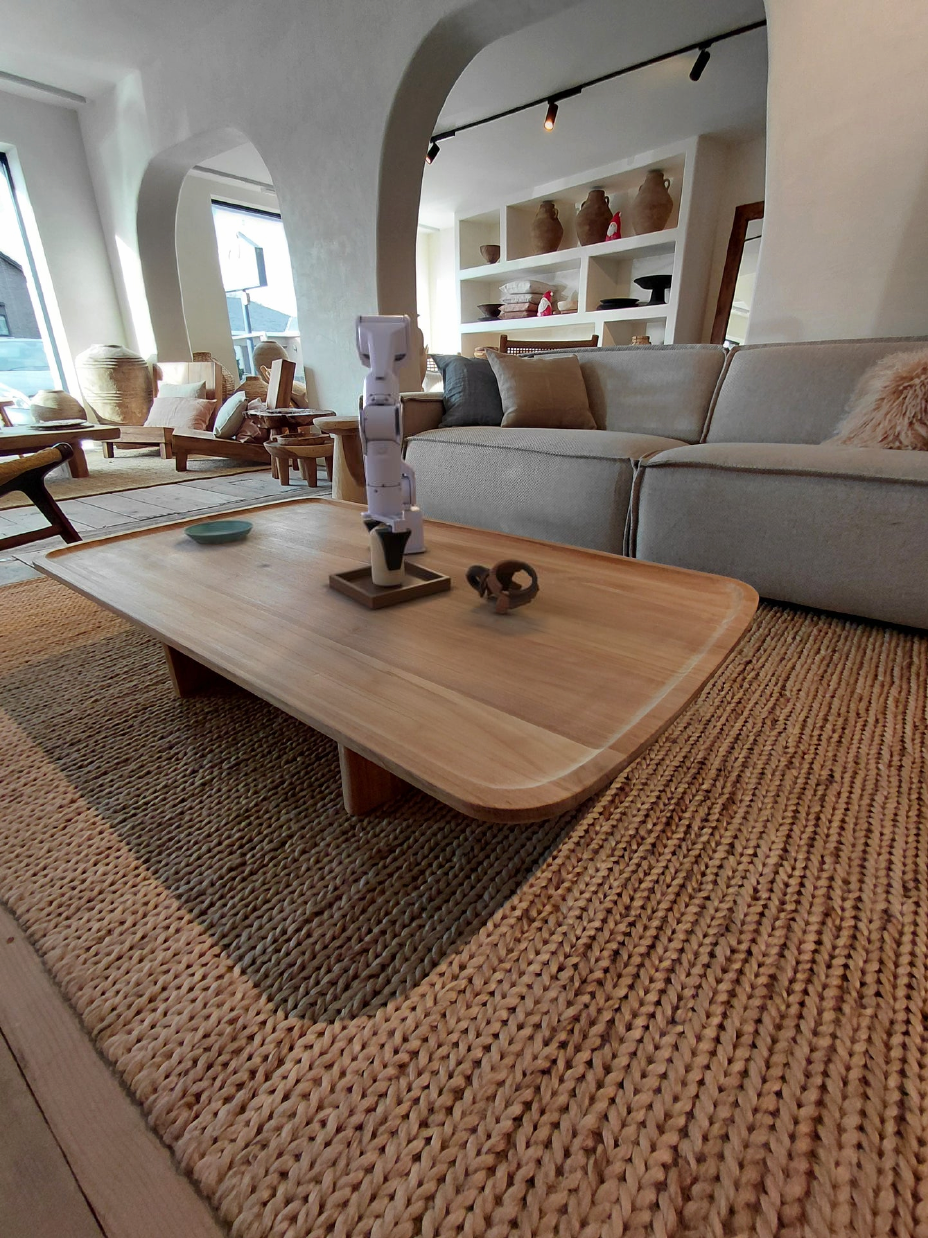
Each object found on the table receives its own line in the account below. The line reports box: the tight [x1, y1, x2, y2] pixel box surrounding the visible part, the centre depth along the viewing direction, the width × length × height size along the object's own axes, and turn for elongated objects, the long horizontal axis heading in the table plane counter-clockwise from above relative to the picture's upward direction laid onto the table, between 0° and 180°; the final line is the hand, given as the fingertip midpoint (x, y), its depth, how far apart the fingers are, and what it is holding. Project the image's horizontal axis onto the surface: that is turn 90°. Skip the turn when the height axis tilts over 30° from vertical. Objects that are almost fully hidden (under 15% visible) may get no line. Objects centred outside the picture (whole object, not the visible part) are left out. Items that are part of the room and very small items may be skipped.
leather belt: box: [465, 558, 540, 615], centre depth 91 cm, size 12×10×8 cm
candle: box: [368, 522, 405, 586], centre depth 98 cm, size 6×6×10 cm
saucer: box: [183, 519, 254, 545], centre depth 131 cm, size 15×15×3 cm
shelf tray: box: [328, 558, 452, 611], centre depth 100 cm, size 16×15×2 cm
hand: (388, 564), depth 99 cm, fingers closed on candle, 5 cm apart
